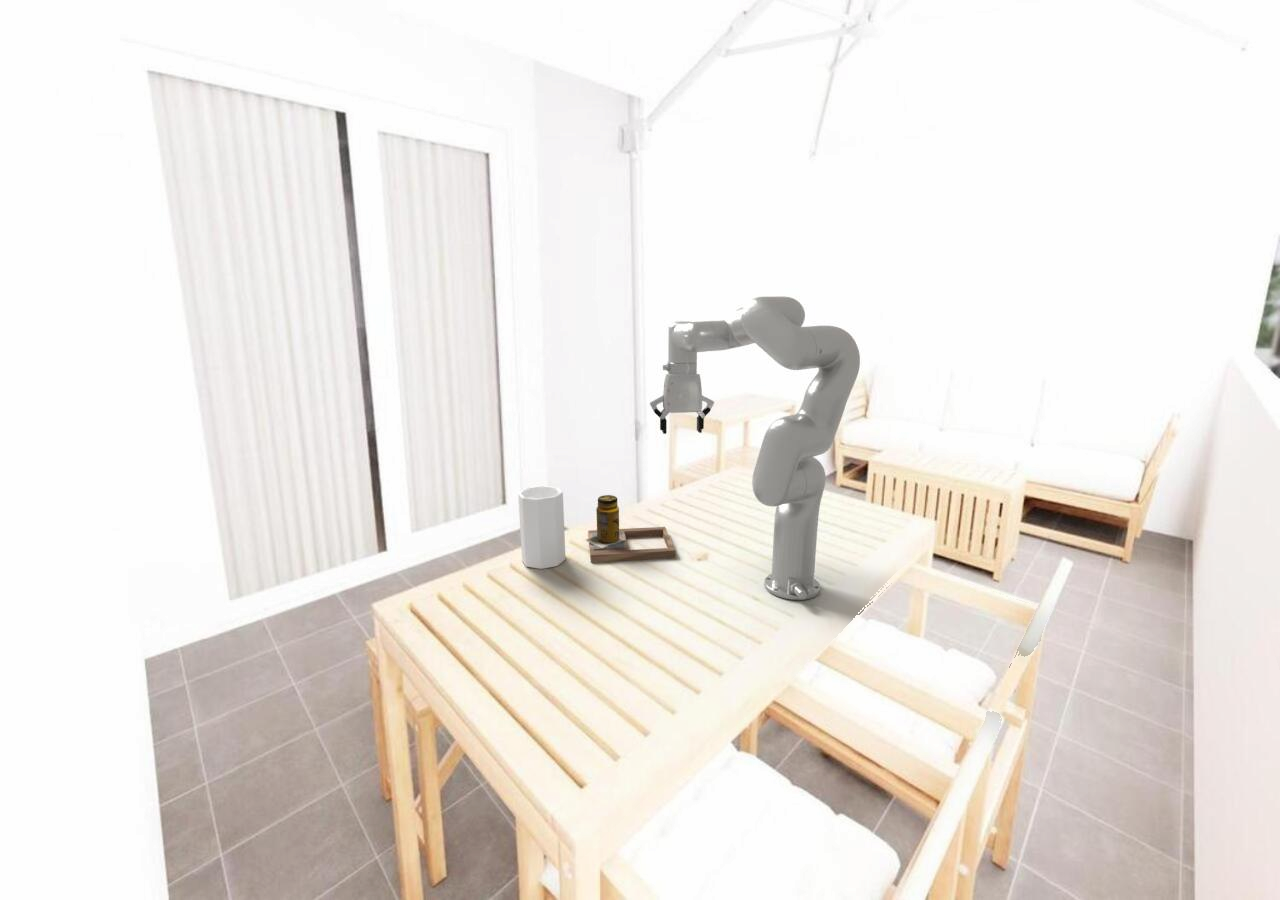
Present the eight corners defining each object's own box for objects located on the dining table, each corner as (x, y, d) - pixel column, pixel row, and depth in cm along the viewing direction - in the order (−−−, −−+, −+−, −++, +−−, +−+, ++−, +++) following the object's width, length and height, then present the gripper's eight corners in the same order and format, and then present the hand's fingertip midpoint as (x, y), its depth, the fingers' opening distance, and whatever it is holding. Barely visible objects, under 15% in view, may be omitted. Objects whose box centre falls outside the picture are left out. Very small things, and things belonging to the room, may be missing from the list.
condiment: (626, 539, 162) (625, 497, 159) (602, 548, 156) (601, 505, 153) (608, 532, 167) (607, 491, 164) (584, 541, 161) (583, 498, 158)
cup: (513, 560, 155) (509, 492, 150) (547, 547, 163) (544, 482, 158) (540, 573, 147) (536, 502, 143) (574, 559, 155) (572, 491, 151)
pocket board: (675, 557, 156) (675, 549, 155) (590, 562, 153) (590, 554, 153) (665, 533, 172) (665, 525, 172) (588, 537, 170) (588, 529, 169)
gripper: (652, 371, 154) (652, 436, 158) (717, 370, 156) (716, 434, 160) (648, 368, 161) (648, 430, 165) (711, 367, 163) (709, 428, 167)
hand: (681, 432), depth 162 cm, fingers open, 9 cm apart
